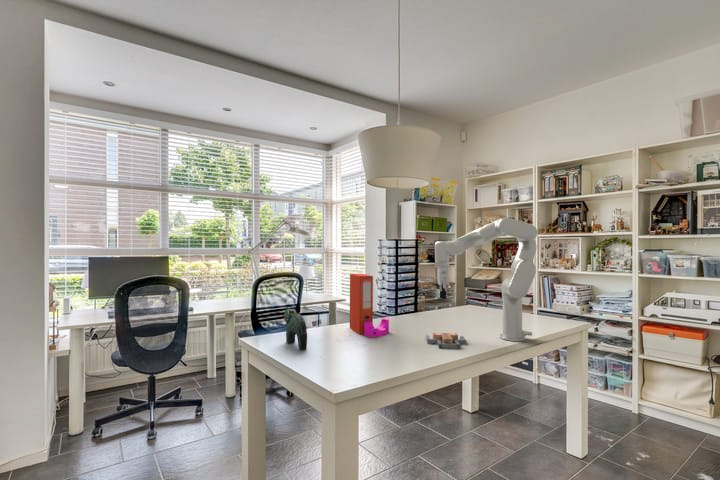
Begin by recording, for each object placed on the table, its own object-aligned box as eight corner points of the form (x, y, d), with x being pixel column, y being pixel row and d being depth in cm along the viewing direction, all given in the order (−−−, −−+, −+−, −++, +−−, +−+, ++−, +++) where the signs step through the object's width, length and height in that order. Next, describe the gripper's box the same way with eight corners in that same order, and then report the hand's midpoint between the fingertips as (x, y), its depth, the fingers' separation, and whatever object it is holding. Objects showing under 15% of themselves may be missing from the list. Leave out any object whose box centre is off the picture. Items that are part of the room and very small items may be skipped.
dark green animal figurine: (282, 342, 189) (282, 302, 189) (294, 340, 193) (294, 301, 193) (298, 351, 172) (298, 308, 172) (311, 349, 176) (311, 307, 176)
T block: (456, 341, 190) (456, 333, 190) (461, 347, 178) (461, 339, 178) (432, 340, 191) (432, 332, 191) (435, 347, 179) (435, 338, 179)
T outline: (462, 339, 192) (462, 335, 192) (470, 348, 175) (470, 344, 176) (425, 339, 193) (425, 335, 193) (429, 348, 177) (429, 344, 177)
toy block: (371, 338, 197) (371, 323, 197) (364, 335, 202) (364, 321, 202) (392, 333, 206) (392, 320, 206) (384, 331, 211) (384, 318, 211)
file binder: (362, 326, 222) (362, 273, 222) (373, 333, 206) (372, 275, 206) (349, 328, 219) (349, 273, 219) (359, 334, 203) (359, 276, 203)
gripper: (451, 265, 191) (452, 300, 190) (447, 263, 206) (447, 296, 205) (437, 265, 191) (437, 301, 191) (433, 263, 206) (434, 296, 206)
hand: (443, 298), depth 198 cm, fingers closed
